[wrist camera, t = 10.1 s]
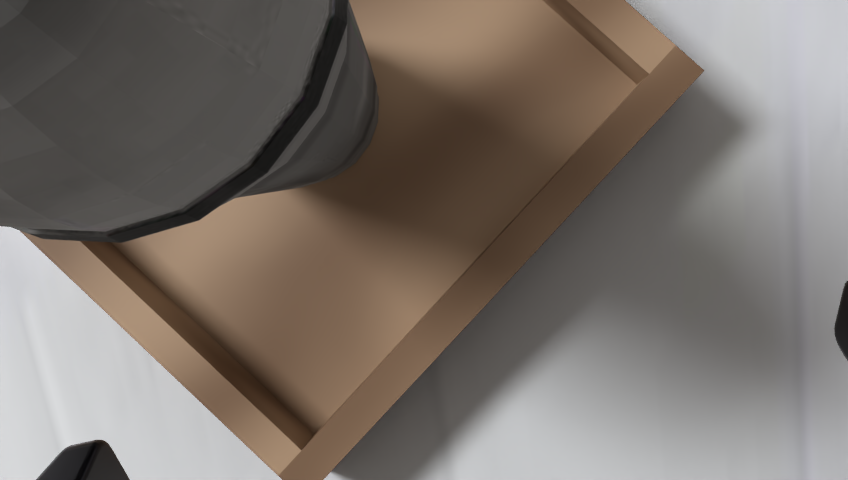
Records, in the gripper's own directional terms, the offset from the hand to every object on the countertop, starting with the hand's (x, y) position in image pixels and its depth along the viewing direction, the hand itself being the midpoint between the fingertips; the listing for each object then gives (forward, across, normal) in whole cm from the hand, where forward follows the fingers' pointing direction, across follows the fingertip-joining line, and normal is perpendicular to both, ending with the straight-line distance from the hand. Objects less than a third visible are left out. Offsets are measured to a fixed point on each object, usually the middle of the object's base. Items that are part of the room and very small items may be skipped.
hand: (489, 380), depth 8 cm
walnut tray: (+16, +4, +1) cm, 17 cm away
